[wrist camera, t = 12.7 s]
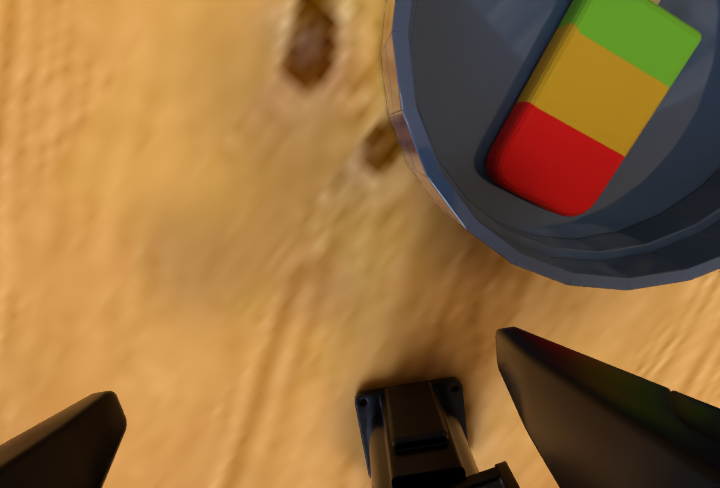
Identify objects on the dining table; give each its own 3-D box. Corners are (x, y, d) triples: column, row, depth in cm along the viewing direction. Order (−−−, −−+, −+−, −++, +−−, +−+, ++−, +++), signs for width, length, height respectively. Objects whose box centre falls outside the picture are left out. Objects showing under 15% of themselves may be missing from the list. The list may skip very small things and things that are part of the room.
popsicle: (472, 174, 19) (486, 178, 17) (658, -164, 15) (700, -203, 14) (562, 219, 20) (584, 228, 18) (757, -90, 16) (810, -118, 15)
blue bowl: (768, 221, 21) (893, 248, 16) (408, 279, 21) (426, 323, 16) (847, -264, 15) (1078, -446, 10) (348, -179, 15) (350, -318, 11)
